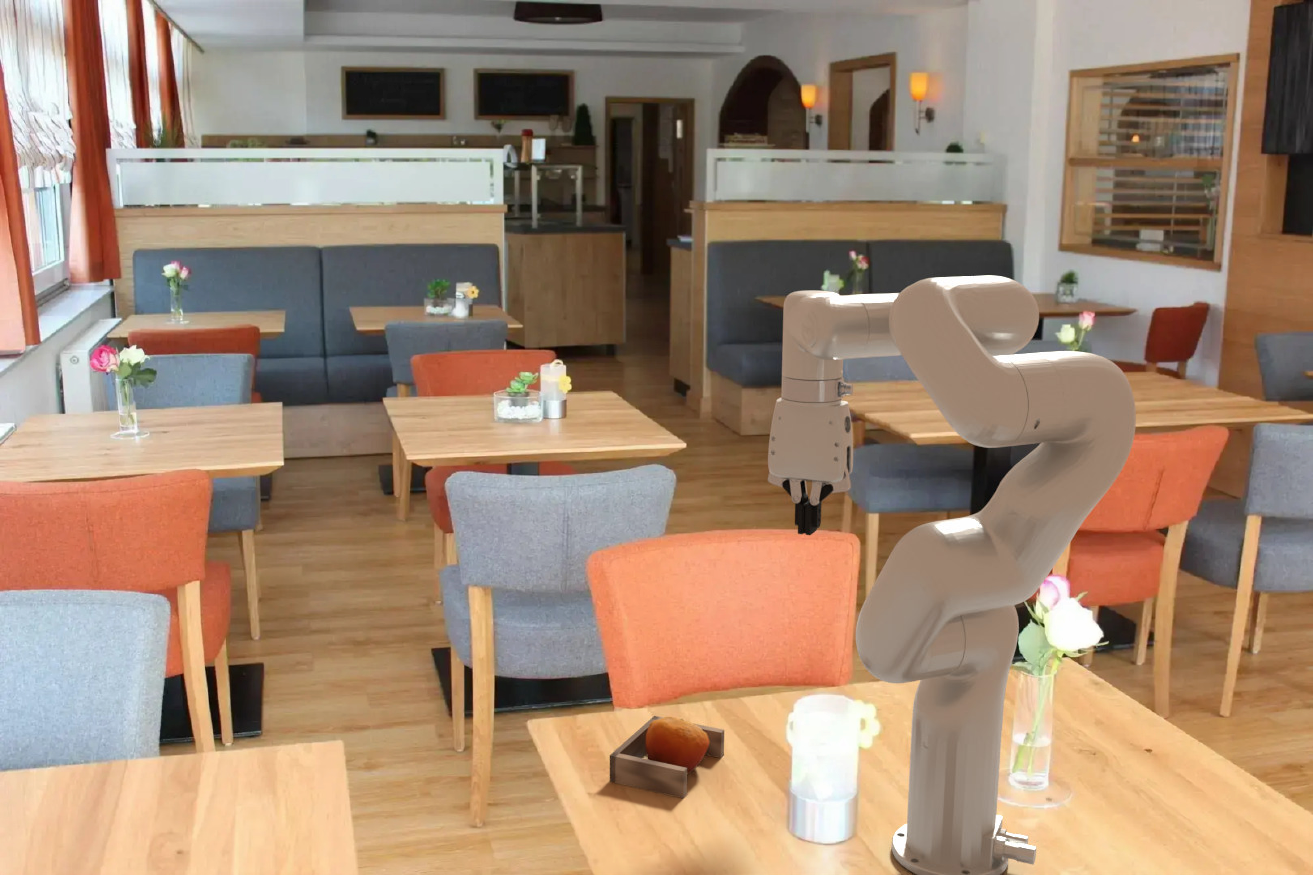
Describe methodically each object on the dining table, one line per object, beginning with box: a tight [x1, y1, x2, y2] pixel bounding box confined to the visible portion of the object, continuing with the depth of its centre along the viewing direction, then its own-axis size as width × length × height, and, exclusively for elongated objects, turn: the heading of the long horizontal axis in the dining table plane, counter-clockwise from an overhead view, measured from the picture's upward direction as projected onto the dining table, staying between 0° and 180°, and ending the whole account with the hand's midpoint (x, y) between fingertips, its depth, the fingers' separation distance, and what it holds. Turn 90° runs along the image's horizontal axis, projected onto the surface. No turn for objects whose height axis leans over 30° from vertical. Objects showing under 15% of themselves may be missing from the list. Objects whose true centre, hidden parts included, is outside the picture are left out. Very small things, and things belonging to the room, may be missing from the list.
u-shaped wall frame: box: [609, 715, 725, 799], centre depth 163 cm, size 10×13×4 cm
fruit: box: [646, 716, 710, 775], centre depth 162 cm, size 8×8×8 cm
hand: (807, 531), depth 164 cm, fingers closed
